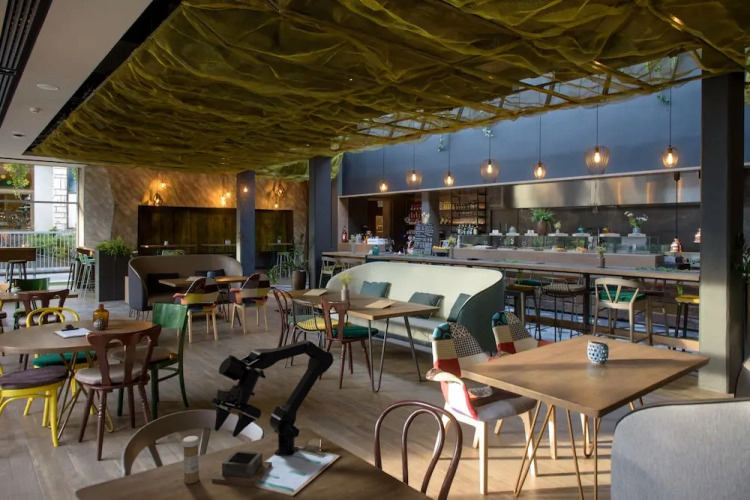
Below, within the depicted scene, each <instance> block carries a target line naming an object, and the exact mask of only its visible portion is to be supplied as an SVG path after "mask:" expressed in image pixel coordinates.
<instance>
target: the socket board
mask: <svg viewBox="0 0 750 500" xmlns="http://www.w3.org/2000/svg"><path fill="white" fill-rule="evenodd" d="M272 465H273V462H272V461H265V460H264V461H263V452H257V451H246V450H234V451H233V452H232V453H231V454H230V455H229V456H228V457H227V458H226V459H225V460H224V461H222V463H221V469H220V470H219V471H218V472H217V473H216V474H215V475H214V476H213V477H212V478H211V483H213V484H214V483H215V484H224V485H232V486H233V485H234V486H242V487H243V486H244V487H254V488H255V487H256V485H257V484H258V483H259V480H260V481H261V479H262V478H264V476H265V475H264V474H266V473H267V472H268V471H269V470H270V469H271V468H272ZM269 468H270V469H269ZM268 469H269V470H268Z"/></svg>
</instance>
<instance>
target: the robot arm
mask: <svg viewBox="0 0 750 500" xmlns="http://www.w3.org/2000/svg"><path fill="white" fill-rule="evenodd" d="M304 354H306V356H308V357H309V359H308V360H307V361H308V363H307V369H306V371H305V373H304V374H303V376H302V377H301V379H300V380H299V382H298V383H297V385H296V387H295V388H294V390H293V391H292V393H291V394H290V396H289V398H288V399H287V401H286V403H284V404H283V405H282V406H279V405H277V406H276V407H275V408H274V410H273V412H272V413H271V414H270V418H269V426H270V427H271V428H272V430H273V431H274V433H276V434H277V449H276V451H274V455H278V456H288V455H291V456H294V454H295V453H296V452H297V450H298V449H299V446H295V445H296V443H295V441H296V440H295V439H296V438H297V437H299V434H300V429H299V428H298V427H296V426H295V423H296V421H297V413H298V410H299V409H300V407H301V405H303V403H304V401H305V400H306V398H307V396H308V394H309V393H310V392H311V390H312V388H313V387H314V385H315V383H316V382H317V381H318V378H320V376H321V375H323V374H324V373H326V372H327V371H328V370H329V369H330V368H331V366H332V365H333V364H334V361H335V359H334V355H333V354H332V353H331V352H329V351H327V350H324V349H323V348H320V347H319V346H317V345H316V344H315V343H314V342H313V341H310V340H307V339H302V340H300V341H297V342H293V343H289V344H285V345H282V346H279V347H276V348H255V349H253V350H251V351H250V353H249V354H248V355H246V356H244V357H242V358H240V359H238V358H237V357H236V356H234V355H232V354H229V355H228V357H227V358H225V359H224V360H223V361H222V362H221V364H220V365H219V368H218V373H219V375H221V376H224V377H225V378H227V379H229V380H231V381H234V382H236V381H237V383H236V385H235V384H233V385H232V386H231V388H218V389H217V392H216V396H214V397H213V399H212V401H211V404H212V406H213V408H214V410H215V412H216V413H215V414H216V416H215V421H214V422H215V424H214V431H216V432H218V431H219V430H220V429H221V428H222V426H223V424H224V423H225V421H226V420H227V419H228V417H229V416H230V414H231V410H236V411H237V418H238V419H237V422H236V424H235V427H234V429H233V432H232V437H234V438H236V437H237V436H238V435H239V434H241V432H243V431H244V430H245V429H246V428H247V427H248V426H249V425H250V424H252V422H254V421H255V422H256V421H257V420H260V418H261V415H262V411H261V409H260V408H258V407H256V406H254V405H251V404H249V401H250V399H251V398H252V397H254V396H255V395H256V393H255V392H254V390H255V387H256V385H257V383H258V381H259V379H266V375H265V373H264V370H266V369H268V368H270V367H272V366H274V365H275V364H277V362H280V361H282V360H287V359H291V358H294V357H296V356H299V355H301V356H302V355H304ZM256 419H257V420H256ZM295 451H296V452H295ZM291 456H290V457H291Z"/></svg>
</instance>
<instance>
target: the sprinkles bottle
mask: <svg viewBox="0 0 750 500" xmlns="http://www.w3.org/2000/svg"><path fill="white" fill-rule="evenodd" d="M199 441H200V440H199V437H198V435H197V436H196V435H189V436H186V437H184V438H183V439H182V446H183V475H184V476H183V477H184V479H183V482H184V483H185V484H194V483H197V482H198V481H199V480H200V473H199V471H200V470H199V469H200V468H199V466H200V465H199Z"/></svg>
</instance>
